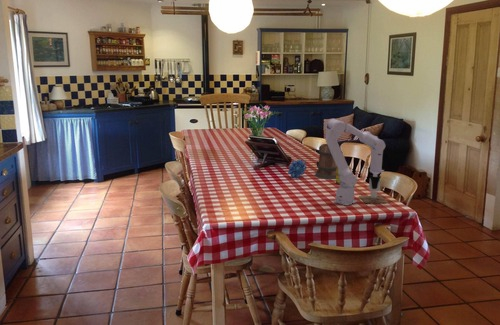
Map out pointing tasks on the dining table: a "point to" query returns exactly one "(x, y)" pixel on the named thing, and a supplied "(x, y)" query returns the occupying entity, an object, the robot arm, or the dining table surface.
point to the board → (379, 200)
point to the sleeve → (377, 186)
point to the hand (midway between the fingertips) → (374, 187)
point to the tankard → (326, 164)
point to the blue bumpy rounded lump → (297, 168)
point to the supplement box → (338, 176)
